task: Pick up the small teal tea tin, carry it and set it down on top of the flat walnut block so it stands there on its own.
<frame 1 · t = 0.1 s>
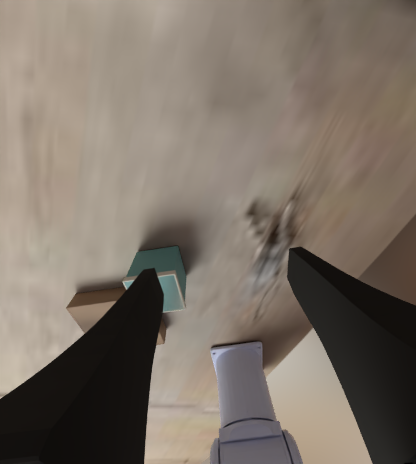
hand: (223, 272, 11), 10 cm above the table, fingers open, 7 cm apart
walnut block: (125, 311, 27), on the table
teal tin: (162, 265, 23), on the table
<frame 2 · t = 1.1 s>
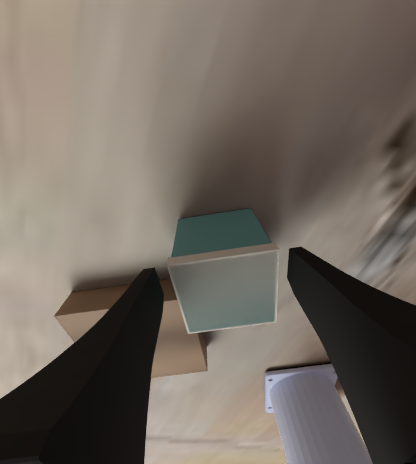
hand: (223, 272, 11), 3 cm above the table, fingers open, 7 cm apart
walnut block: (147, 319, 17), on the table
teal tin: (218, 244, 13), on the table
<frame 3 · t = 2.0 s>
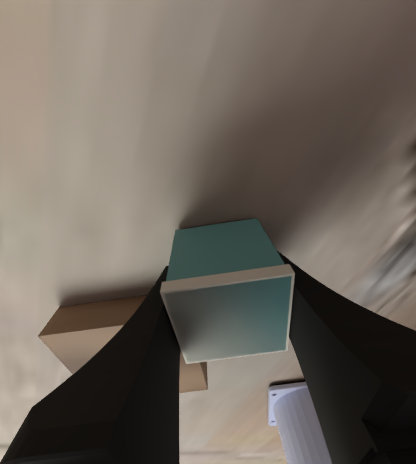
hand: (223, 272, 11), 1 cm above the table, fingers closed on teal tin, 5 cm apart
walnut block: (143, 334, 16), on the table
teal tin: (220, 256, 12), on the table, touching gripper
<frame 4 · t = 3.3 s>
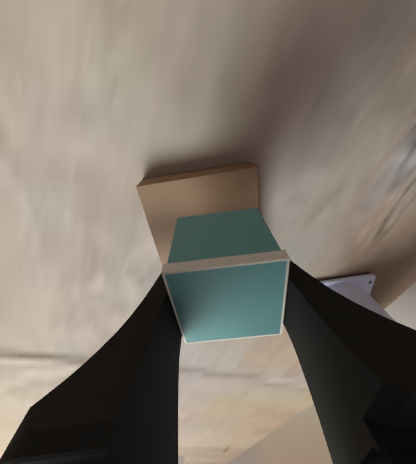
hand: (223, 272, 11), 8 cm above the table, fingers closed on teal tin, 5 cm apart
walnut block: (204, 217, 19), on the table
teal tin: (220, 245, 12), point 6 cm above the table, touching gripper
when the fingers open (4 cm above the table, at t = 4.8 s): teal tin stays where it is, point 2 cm above the table.
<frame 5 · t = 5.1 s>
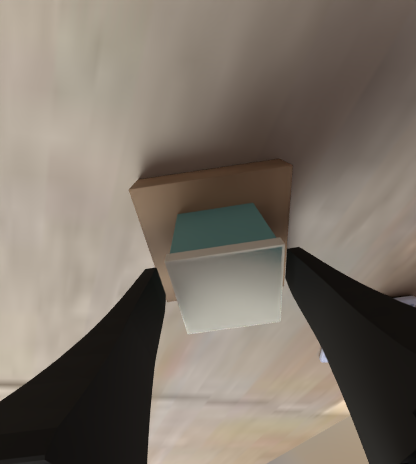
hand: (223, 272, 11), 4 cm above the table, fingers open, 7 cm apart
walnut block: (215, 228, 15), on the table
teal tin: (219, 240, 13), point 2 cm above the table
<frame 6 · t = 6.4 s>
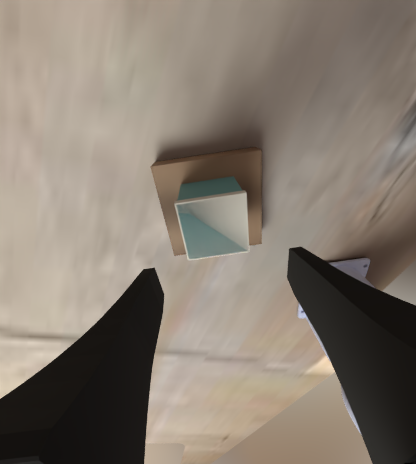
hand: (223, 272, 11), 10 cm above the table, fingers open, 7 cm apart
walnut block: (210, 200, 20), on the table, touching teal tin
teal tin: (210, 204, 18), point 2 cm above the table, touching walnut block
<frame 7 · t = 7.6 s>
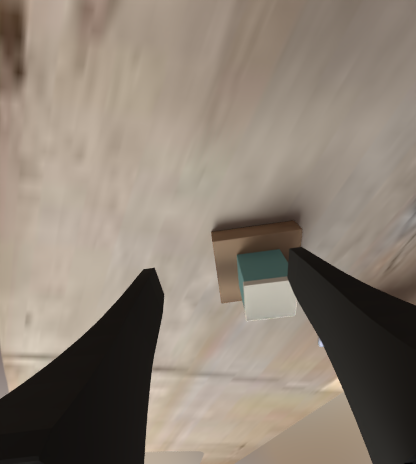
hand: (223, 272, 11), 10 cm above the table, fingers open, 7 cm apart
walnut block: (252, 257, 24), on the table, touching teal tin
teal tin: (258, 268, 22), point 2 cm above the table, touching walnut block
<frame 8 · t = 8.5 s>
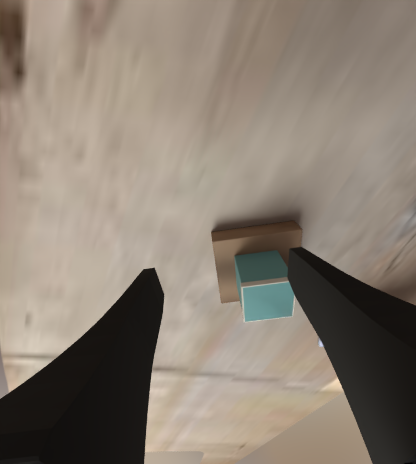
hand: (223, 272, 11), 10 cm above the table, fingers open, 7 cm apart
walnut block: (252, 257, 24), on the table
teal tin: (255, 269, 22), point 2 cm above the table
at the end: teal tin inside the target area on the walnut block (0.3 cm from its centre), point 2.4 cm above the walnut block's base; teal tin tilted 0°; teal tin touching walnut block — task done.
